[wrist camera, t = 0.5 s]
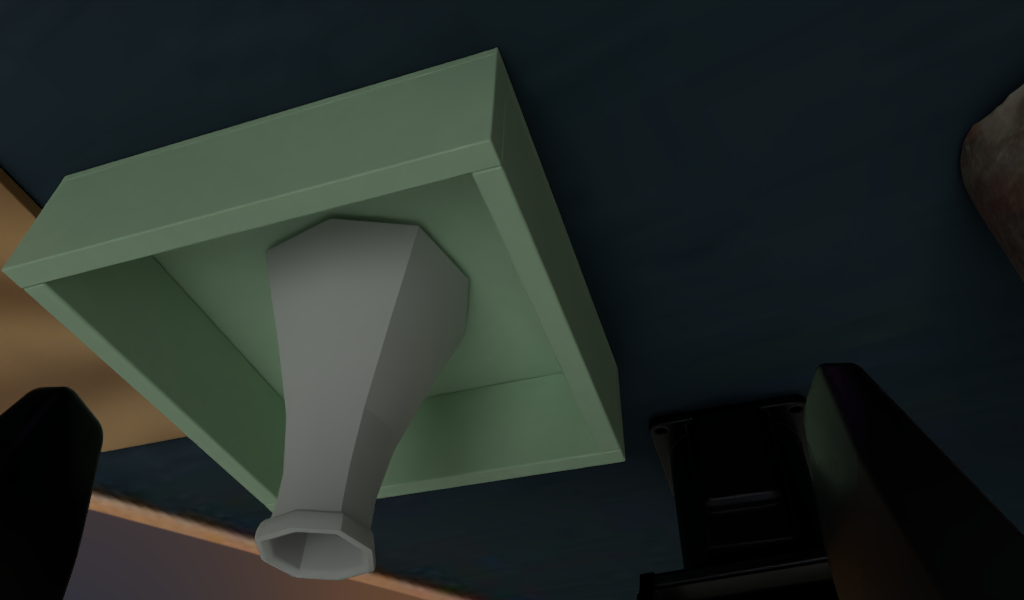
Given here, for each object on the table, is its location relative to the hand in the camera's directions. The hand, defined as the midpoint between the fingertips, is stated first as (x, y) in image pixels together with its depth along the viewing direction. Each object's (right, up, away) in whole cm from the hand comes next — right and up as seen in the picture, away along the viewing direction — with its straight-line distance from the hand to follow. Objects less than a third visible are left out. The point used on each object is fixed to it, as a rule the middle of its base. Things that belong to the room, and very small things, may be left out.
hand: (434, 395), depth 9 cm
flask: (-4, +2, +18) cm, 19 cm away
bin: (-4, +2, +19) cm, 19 cm away
